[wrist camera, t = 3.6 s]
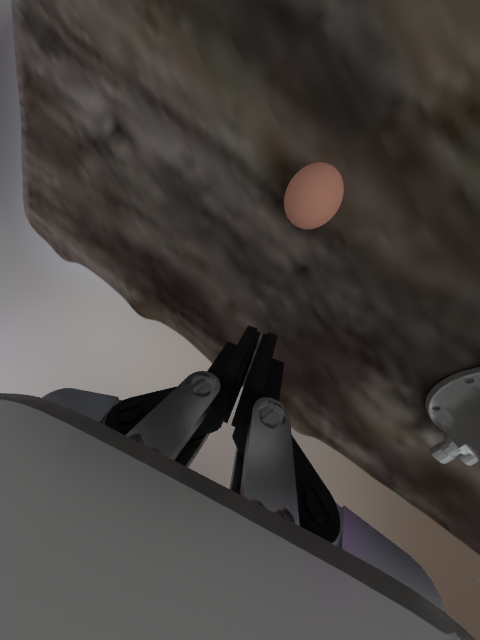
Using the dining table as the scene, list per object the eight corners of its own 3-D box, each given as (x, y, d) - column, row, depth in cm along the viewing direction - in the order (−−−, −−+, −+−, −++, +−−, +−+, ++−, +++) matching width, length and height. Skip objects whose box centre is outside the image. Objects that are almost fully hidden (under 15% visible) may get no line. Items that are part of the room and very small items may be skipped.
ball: (324, 234, 21) (331, 235, 17) (279, 223, 22) (273, 221, 18) (348, 177, 19) (363, 158, 14) (296, 167, 20) (294, 146, 15)
